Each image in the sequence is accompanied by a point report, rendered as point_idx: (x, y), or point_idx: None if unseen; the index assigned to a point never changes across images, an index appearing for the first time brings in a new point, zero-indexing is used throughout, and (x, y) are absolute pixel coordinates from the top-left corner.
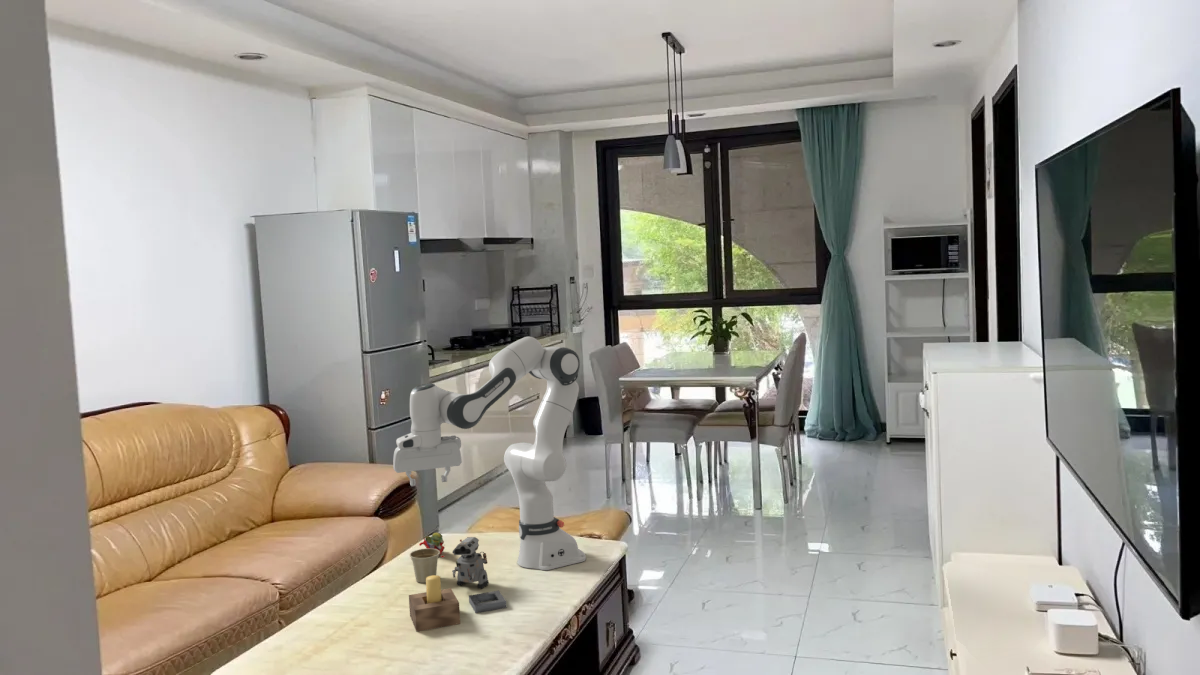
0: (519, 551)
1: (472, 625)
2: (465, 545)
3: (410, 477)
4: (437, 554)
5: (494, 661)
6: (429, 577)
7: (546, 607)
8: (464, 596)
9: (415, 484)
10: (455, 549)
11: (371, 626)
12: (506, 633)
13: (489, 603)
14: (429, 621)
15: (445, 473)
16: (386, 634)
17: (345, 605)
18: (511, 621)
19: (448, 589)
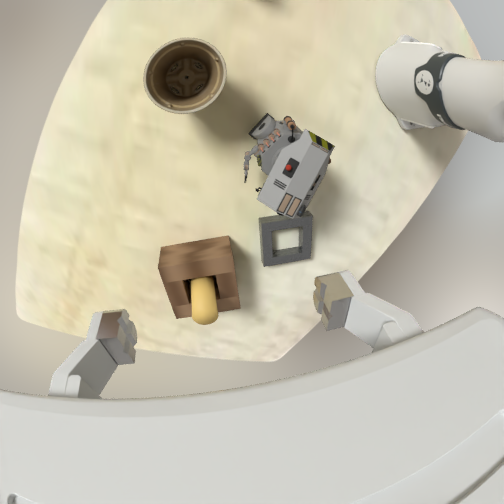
0: (393, 69)
1: (251, 293)
2: (291, 215)
3: (102, 384)
4: (217, 94)
5: (259, 357)
6: (198, 313)
7: (351, 262)
8: (254, 190)
9: (134, 337)
10: (264, 201)
11: (111, 269)
12: (284, 315)
13: (286, 261)
14: None
15: (362, 323)
16: (138, 295)
17: (51, 183)
18: (299, 290)
19: (228, 259)
